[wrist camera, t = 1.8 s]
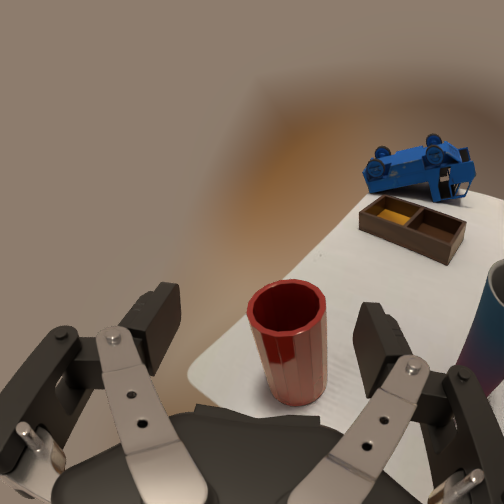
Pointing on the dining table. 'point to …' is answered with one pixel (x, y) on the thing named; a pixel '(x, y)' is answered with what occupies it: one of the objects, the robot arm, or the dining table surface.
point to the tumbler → (291, 339)
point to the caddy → (413, 227)
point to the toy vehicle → (421, 168)
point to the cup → (487, 333)
